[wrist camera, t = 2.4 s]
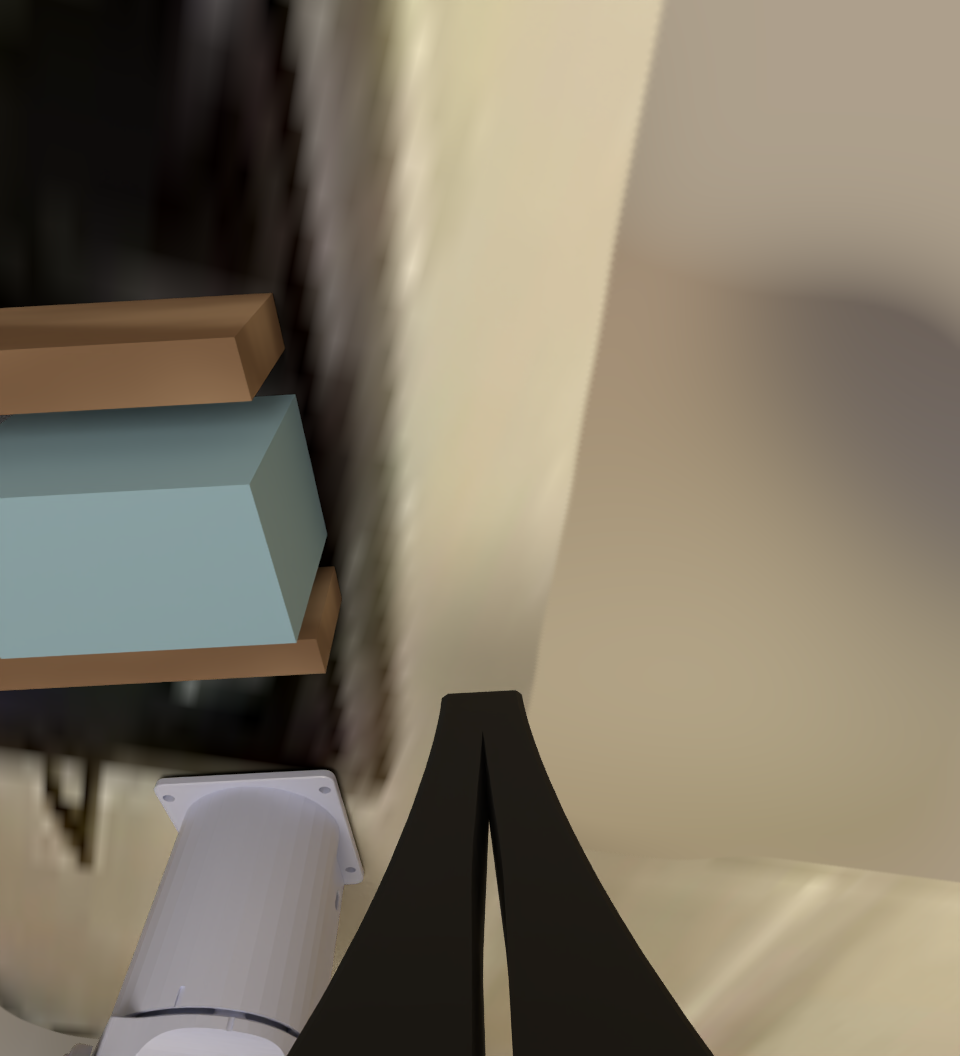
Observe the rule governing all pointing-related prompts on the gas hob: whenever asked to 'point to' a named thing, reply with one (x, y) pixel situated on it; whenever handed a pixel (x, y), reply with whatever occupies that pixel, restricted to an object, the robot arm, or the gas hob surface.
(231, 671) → the chute
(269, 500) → the block
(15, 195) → the gas hob surface
